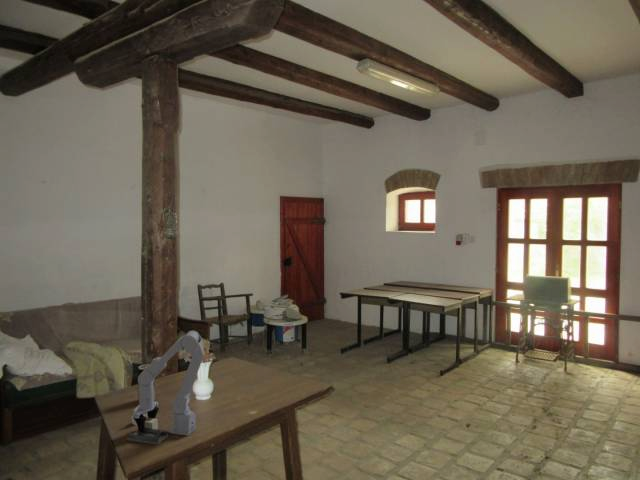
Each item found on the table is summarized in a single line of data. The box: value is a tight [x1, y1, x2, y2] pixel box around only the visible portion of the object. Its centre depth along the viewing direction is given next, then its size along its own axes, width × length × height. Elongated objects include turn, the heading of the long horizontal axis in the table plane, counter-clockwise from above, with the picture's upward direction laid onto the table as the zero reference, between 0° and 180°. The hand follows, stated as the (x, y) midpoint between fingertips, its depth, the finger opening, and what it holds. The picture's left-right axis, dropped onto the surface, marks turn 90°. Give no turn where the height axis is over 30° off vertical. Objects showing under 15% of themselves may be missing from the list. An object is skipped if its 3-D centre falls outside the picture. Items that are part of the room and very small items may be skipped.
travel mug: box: [137, 363, 156, 404], centre depth 243 cm, size 8×8×18 cm
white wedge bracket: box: [131, 404, 148, 426], centre depth 219 cm, size 4×10×9 cm
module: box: [145, 417, 159, 429], centre depth 210 cm, size 7×4×5 cm, turn 74°
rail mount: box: [126, 428, 169, 446], centre depth 203 cm, size 15×7×3 cm, turn 74°
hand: (146, 427), depth 209 cm, fingers open, 6 cm apart
